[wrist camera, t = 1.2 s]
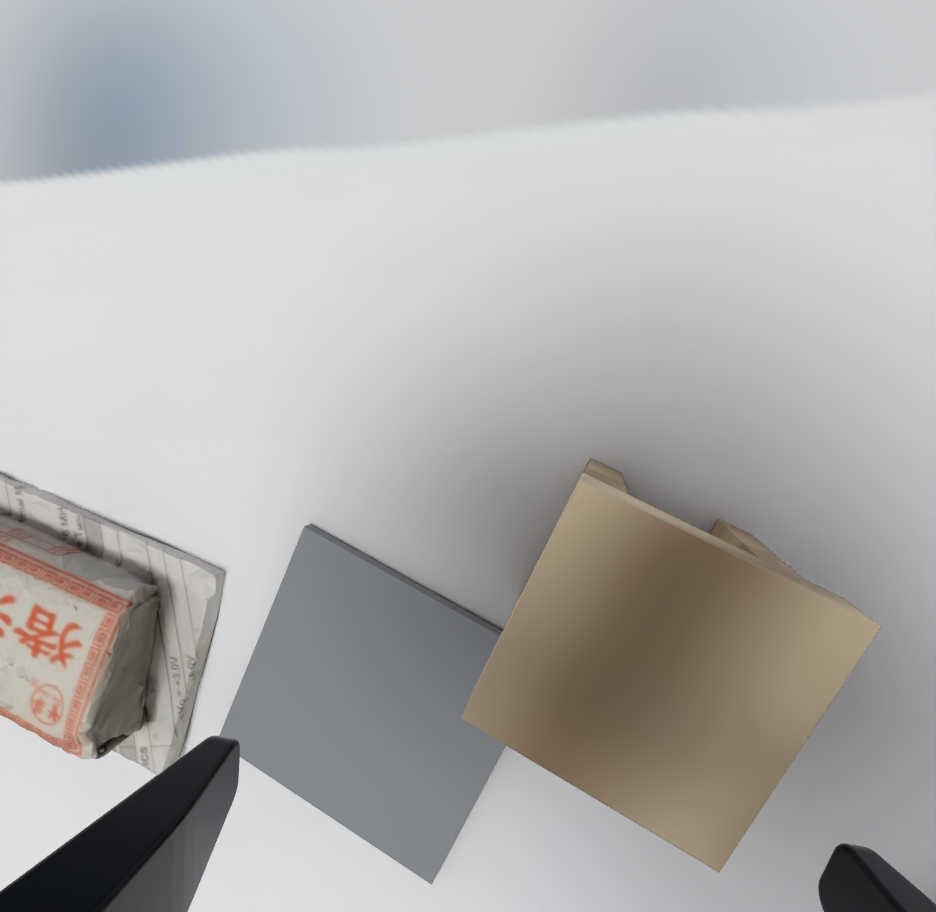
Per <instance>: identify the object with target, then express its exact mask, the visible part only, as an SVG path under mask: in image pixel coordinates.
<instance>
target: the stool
mask: <svg viewBox="0 0 936 912" xmlns="http://www.w3.org/2000/svg"><path fill="white" fill-rule="evenodd" d="M879 629H880V626H879V625H878V624H877V623H875V622H874V621H873V620H871V619H870V618H869V617H868V616H866V615H865V614H864V613H862V612H861V611H860V610H859V609H857V608H856V607H855V606H853V605H852V604H851V603H850V602H848V601H847V600H845V599H843V598H841V597H839V596H837V595H835V594H833V593H831V592H829V591H827V590H825V589H823V588H821V587H818V586H816V585H814V584H812V583H810V582H808V581H806V580H804V579H803V578H802V577H801V576H800V575H799V574H797V573H796V572H795V571H794V570H793V569H791V568H790V567H789V566H788V565H787V564H785V563H784V562H783V561H782V560H781V559H779V558H778V557H777V556H776V555H775V554H774V553H772V552H771V551H770V550H769V549H768V548H766V547H765V546H764V545H763V544H762V543H760V542H759V541H758V540H757V539H756V538H755V537H753V536H752V535H750V534H748V533H746V532H744V531H742V530H740V529H737V528H735V527H733V526H731V525H729V524H727V523H725V522H723V521H721V520H719V519H718V521H717V523H716V524H715V526H714V528H713V530H712V532H711V533H710V534H709V533H707V532H705V531H703V530H701V529H698V528H696V527H694V526H692V525H690V524H688V523H686V522H684V521H682V520H680V519H678V518H676V517H674V516H672V515H670V514H667V513H665V512H663V511H661V510H659V509H657V508H655V507H653V506H651V505H649V504H647V503H645V502H643V501H641V500H638V499H636V498H634V497H632V496H630V495H629V494H628V491H627V488H626V485H625V482H624V479H623V476H622V473H620V472H618V471H616V470H614V469H612V468H610V467H607V466H605V465H603V464H601V463H599V462H597V461H595V460H593V459H590V460H589V462H588V464H587V466H586V468H585V470H584V472H583V473H582V475H581V477H580V479H579V481H578V483H577V485H576V487H575V489H574V491H573V493H572V495H571V497H570V499H569V501H568V503H567V505H566V507H565V509H564V511H563V513H562V515H561V517H560V518H559V520H558V522H557V524H556V526H555V528H554V530H553V532H552V534H551V536H550V538H549V540H548V542H547V544H546V546H545V548H544V550H543V552H542V554H541V556H540V558H539V560H538V562H537V564H536V566H535V568H534V570H533V572H532V574H531V576H530V578H529V580H528V582H527V584H526V586H525V588H524V590H523V592H522V594H521V596H520V598H519V600H518V602H517V604H516V606H515V608H514V610H513V612H512V614H511V616H510V618H509V620H508V622H507V624H506V626H505V628H504V630H503V631H502V633H501V635H500V637H499V639H498V641H497V643H496V645H495V647H494V649H493V651H492V653H491V655H490V657H489V659H488V661H487V663H486V665H485V667H484V669H483V671H482V673H481V675H480V677H479V679H478V681H477V683H476V685H475V687H474V689H473V692H472V694H471V696H470V698H469V701H468V703H467V705H466V707H465V710H464V712H463V714H462V716H461V719H463V720H465V721H466V722H468V723H470V724H471V725H473V726H475V727H476V728H478V729H480V730H481V731H483V732H485V733H486V734H488V735H490V736H491V737H493V738H495V739H496V740H498V741H500V742H501V743H503V744H505V745H506V746H508V747H510V748H511V749H513V750H515V751H516V752H518V753H520V754H521V755H523V756H525V757H527V758H528V759H530V760H532V761H533V762H535V763H537V764H538V765H540V766H542V767H543V768H545V769H547V770H548V771H550V772H552V773H553V774H555V775H557V776H558V777H560V778H562V779H563V780H565V781H567V782H568V783H570V784H572V785H573V786H575V787H577V788H578V789H580V790H582V791H583V792H585V793H587V794H588V795H590V796H592V797H593V798H595V799H597V800H599V801H600V802H602V803H604V804H605V805H607V806H609V807H610V808H612V809H614V810H615V811H617V812H619V813H620V814H622V815H624V816H625V817H627V818H629V819H630V820H632V821H634V822H635V823H637V824H639V825H640V826H642V827H644V828H645V829H647V830H649V831H650V832H652V833H654V834H655V835H657V836H659V837H660V838H662V839H664V840H665V841H667V842H669V843H670V844H672V845H674V846H676V847H677V848H679V849H681V850H682V851H684V852H686V853H687V854H689V855H691V856H692V857H694V858H696V859H697V860H699V861H701V862H702V863H704V864H706V865H707V866H709V867H711V868H712V869H714V870H716V871H717V872H720V870H721V869H722V867H723V866H724V864H725V863H726V861H727V860H728V858H729V857H730V855H731V854H732V852H733V851H734V849H735V848H736V846H737V845H738V843H739V842H740V840H741V839H742V837H743V835H744V834H745V832H746V831H747V829H748V828H749V826H750V825H751V823H752V822H753V820H754V819H755V817H756V816H757V814H758V813H759V811H760V810H761V808H762V807H763V805H764V804H765V802H766V801H767V799H768V798H769V796H770V794H771V793H772V791H773V790H774V788H775V787H776V785H777V784H778V782H779V781H780V779H781V778H782V776H783V775H784V773H785V772H786V770H787V769H788V767H789V766H790V764H791V763H792V761H793V760H794V758H795V757H796V755H797V753H798V752H799V750H800V749H801V747H802V746H803V744H804V743H805V741H806V740H807V738H808V737H809V735H810V734H811V732H812V731H813V729H814V728H815V726H816V725H817V723H818V722H819V720H820V719H821V717H822V716H823V714H824V713H825V711H826V709H827V708H828V706H829V705H830V703H831V702H832V700H833V699H834V697H835V696H836V694H837V693H838V691H839V690H840V688H841V687H842V685H843V684H844V682H845V681H846V679H847V678H848V676H849V675H850V673H851V672H852V670H853V668H854V667H855V665H856V664H857V662H858V661H859V659H860V658H861V656H862V655H863V653H864V652H865V650H866V649H867V647H868V646H869V644H870V643H871V641H872V640H873V638H874V637H875V635H876V634H877V632H878V631H879Z"/></svg>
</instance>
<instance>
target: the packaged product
mask: <svg viewBox="0 0 936 912" xmlns="http://www.w3.org/2000/svg"><path fill="white" fill-rule="evenodd" d="M224 576H225V571H223V570H221V569H219V568H216V567H214V566H212V565H210V564H208V563H206V562H204V561H202V560H200V559H198V558H196V557H194V556H191V555H189V554H187V553H184V552H182V551H179V550H177V549H174V548H172V547H169V546H167V545H164V544H162V543H159V542H156V541H154V540H151V539H149V538H147V537H144V536H142V535H139V534H136V533H134V532H131V531H129V530H127V529H125V528H123V527H121V526H119V525H116V524H114V523H112V522H110V521H108V520H106V519H104V518H101V517H99V516H97V515H95V514H93V513H91V512H89V511H86V510H84V509H82V508H79V507H77V506H74V505H72V504H70V503H69V502H67V501H65V500H63V499H61V498H59V497H57V496H55V495H53V494H52V493H49V492H47V491H44V490H40V489H38V488H37V487H35V486H32V485H29V484H25V483H22V482H19V481H15V480H12V479H10V478H8V477H6V476H4V475H2V474H0V715H2V716H4V717H6V718H8V719H10V720H12V721H14V722H15V723H17V724H18V725H20V726H21V727H23V728H25V729H27V730H29V731H32V732H34V733H36V734H37V735H39V736H40V737H41V738H43V739H44V740H46V741H47V742H49V743H51V744H52V745H54V746H57V747H60V748H62V749H63V750H64V751H65V752H67V753H69V754H74V755H76V756H78V757H79V758H81V759H89V758H94V759H98V758H100V757H103V756H105V755H106V754H107V753H109V752H110V751H111V750H113V751H115V752H117V753H119V754H121V755H123V756H124V757H125V758H127V759H129V760H132V761H135V762H136V763H138V764H140V765H142V766H143V767H145V768H147V769H148V770H150V771H151V772H153V773H154V774H156V775H158V774H160V773H161V772H162V771H164V770H165V769H166V768H168V767H169V766H170V765H172V764H173V763H174V762H175V760H176V759H177V758H178V757H179V756H180V753H181V751H182V748H183V744H184V740H185V736H186V733H187V729H188V725H189V721H190V717H191V713H192V710H193V706H194V702H195V698H196V693H197V690H198V686H199V683H200V679H201V676H202V672H203V669H204V665H205V661H206V657H207V654H208V650H209V646H210V642H211V638H212V635H213V631H214V627H215V623H216V619H217V616H218V612H219V608H220V603H221V596H222V589H223V582H224Z"/></svg>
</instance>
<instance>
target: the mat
mask: <svg viewBox="0 0 936 912" xmlns="http://www.w3.org/2000/svg"><path fill="white" fill-rule="evenodd" d="M501 633H502V630H500V629H498V628H496V627H495V626H493V625H491V624H489V623H487V622H486V621H484V620H482V619H480V618H478V617H477V616H475V615H473V614H471V613H469V612H468V611H466V610H464V609H462V608H460V607H459V606H457V605H455V604H453V603H451V602H450V601H448V600H446V599H444V598H442V597H441V596H439V595H437V594H435V593H433V592H432V591H430V590H428V589H426V588H424V587H423V586H421V585H419V584H417V583H415V582H414V581H412V580H410V579H408V578H406V577H405V576H403V575H401V574H399V573H397V572H396V571H394V570H392V569H390V568H388V567H387V566H385V565H383V564H381V563H379V562H378V561H376V560H374V559H372V558H370V557H369V556H367V555H365V554H363V553H361V552H360V551H358V550H356V549H354V548H353V547H351V546H349V545H347V544H345V543H344V542H342V541H340V540H338V539H336V538H335V537H333V536H331V535H329V534H327V533H326V532H324V531H322V530H320V529H318V528H317V527H315V526H313V525H311V524H310V525H307V526H305V527H304V529H303V531H302V533H301V536H300V538H299V541H298V543H297V546H296V548H295V551H294V553H293V556H292V558H291V561H290V563H289V566H288V568H287V570H286V573H285V575H284V578H283V580H282V583H281V585H280V588H279V590H278V593H277V595H276V598H275V600H274V603H273V605H272V607H271V610H270V612H269V615H268V617H267V620H266V622H265V625H264V627H263V630H262V632H261V635H260V637H259V640H258V642H257V644H256V647H255V649H254V652H253V654H252V657H251V659H250V662H249V664H248V667H247V669H246V672H245V674H244V677H243V679H242V681H241V684H240V686H239V689H238V691H237V694H236V696H235V699H234V701H233V704H232V706H231V709H230V711H229V714H228V716H227V718H226V721H225V723H224V726H223V728H222V731H221V733H220V736H221V737H227V738H233V739H236V740H238V741H239V744H240V757H241V758H243V759H244V760H246V761H247V762H249V763H250V764H252V765H253V766H255V767H256V768H258V769H259V770H261V771H262V772H264V773H265V774H267V775H268V776H270V777H271V778H273V779H274V780H276V781H277V782H279V783H280V784H282V785H283V786H285V787H286V788H288V789H289V790H291V791H292V792H294V793H295V794H297V795H298V796H300V797H301V798H303V799H304V800H306V801H307V802H309V803H310V804H312V805H313V806H315V807H316V808H318V809H319V810H321V811H322V812H324V813H325V814H327V815H328V816H330V817H331V818H333V819H334V820H336V821H337V822H339V823H340V824H342V825H343V826H345V827H346V828H348V829H349V830H351V831H352V832H354V833H355V834H357V835H358V836H360V837H361V838H363V839H364V840H366V841H367V842H369V843H370V844H372V845H373V846H375V847H376V848H378V849H379V850H381V851H382V852H384V853H385V854H387V855H388V856H390V857H391V858H393V859H394V860H396V861H397V862H399V863H400V864H402V865H403V866H405V867H406V868H408V869H409V870H411V871H412V872H414V873H415V874H417V875H418V876H420V877H421V878H423V879H424V880H426V881H427V882H429V883H430V884H432V883H433V881H434V879H435V877H436V876H437V874H438V872H439V870H440V868H441V866H442V864H443V862H444V860H445V859H446V857H447V855H448V853H449V851H450V849H451V847H452V845H453V844H454V842H455V840H456V838H457V836H458V834H459V832H460V830H461V828H462V827H463V825H464V823H465V821H466V819H467V817H468V815H469V813H470V811H471V810H472V808H473V806H474V804H475V802H476V800H477V798H478V796H479V794H480V793H481V791H482V789H483V787H484V785H485V783H486V781H487V779H488V778H489V776H490V774H491V772H492V770H493V768H494V766H495V764H496V762H497V761H498V759H499V757H500V755H501V753H502V751H503V749H504V747H505V744H503V743H501V742H500V741H498V740H496V739H495V738H493V737H491V736H490V735H488V734H486V733H485V732H483V731H481V730H480V729H478V728H476V727H475V726H473V725H471V724H470V723H468V722H466V721H465V720H463V719H461V716H462V714H463V712H464V710H465V707H466V705H467V703H468V701H469V698H470V696H471V694H472V692H473V689H474V687H475V685H476V683H477V681H478V679H479V677H480V675H481V673H482V671H483V669H484V667H485V665H486V663H487V661H488V659H489V657H490V655H491V653H492V651H493V649H494V647H495V645H496V643H497V641H498V639H499V637H500V635H501Z"/></svg>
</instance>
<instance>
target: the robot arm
mask: <svg viewBox="0 0 936 912" xmlns="http://www.w3.org/2000/svg"><path fill="white" fill-rule="evenodd" d="M239 758H240V744H239V741H238V740H236V739H233V738H227V737H221V736H211V737H209V738H207V739H205V740H204V741H203V742H201V743H200V744H199V745H197V746H196V747H195V748H193V749H192V750H191V751H189V752H188V753H187V754H185V755H184V756H183V757H181V758H180V759H178V760H177V761H176V762H174V763H173V764H172V765H170V766H169V767H168V768H166V769H165V770H164V771H162V772H161V773H160V774H158V775H157V776H155V777H154V778H153V779H151V780H150V781H149V782H147V783H146V784H145V785H143V786H142V787H141V788H139V789H138V790H137V791H135V792H134V793H133V794H131V795H130V796H128V797H127V798H126V799H124V800H123V801H122V802H120V803H119V804H118V805H116V806H115V807H114V808H112V809H111V810H110V811H108V812H107V813H106V814H104V815H103V816H101V817H100V818H99V819H97V820H96V821H95V822H93V823H92V824H91V825H89V826H88V827H87V828H85V829H84V830H83V831H81V832H80V833H79V834H77V835H76V836H74V837H73V838H72V839H70V840H69V841H68V842H66V843H65V844H64V845H62V846H61V847H60V848H58V849H57V850H56V851H54V852H53V853H51V854H50V855H49V856H47V857H46V858H45V859H43V860H42V861H41V862H39V863H38V864H37V865H35V866H34V867H33V868H31V869H30V870H29V871H27V872H26V873H24V874H23V875H22V876H20V877H19V878H18V879H16V880H15V881H14V882H12V883H11V884H10V885H8V886H7V887H6V888H4V889H3V890H2V891H0V912H187V911H188V909H189V907H190V904H191V902H192V900H193V897H194V895H195V892H196V890H197V887H198V885H199V883H200V880H201V878H202V875H203V873H204V870H205V868H206V865H207V863H208V861H209V858H210V856H211V853H212V851H213V848H214V846H215V844H216V841H217V839H218V836H219V834H220V831H221V829H222V827H223V824H224V822H225V819H226V817H227V814H228V812H229V809H230V807H231V805H232V802H233V800H234V797H235V794H236V790H237V786H238V776H239ZM819 897H820V901H821V904H822V907H823V910H824V912H936V904H935V903H933V902H932V901H931V900H930V899H929V898H928V897H927V896H925V895H924V894H923V893H922V892H921V891H920V890H918V889H917V888H916V887H915V886H914V885H913V884H912V883H910V882H909V881H908V880H907V879H906V878H905V877H903V876H902V875H901V874H900V873H899V872H898V871H897V870H895V869H894V868H893V867H892V866H891V865H890V864H888V863H887V862H886V861H885V860H884V859H883V858H882V857H880V856H879V855H878V854H877V853H876V852H874V851H873V850H871V849H869V848H866V847H862V846H856V845H850V844H840V845H838V846H837V847H836V848H835V850H834V852H833V854H832V856H831V858H830V860H829V862H828V864H827V866H826V868H825V870H824V872H823V874H822V876H821V878H820V881H819Z"/></svg>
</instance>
